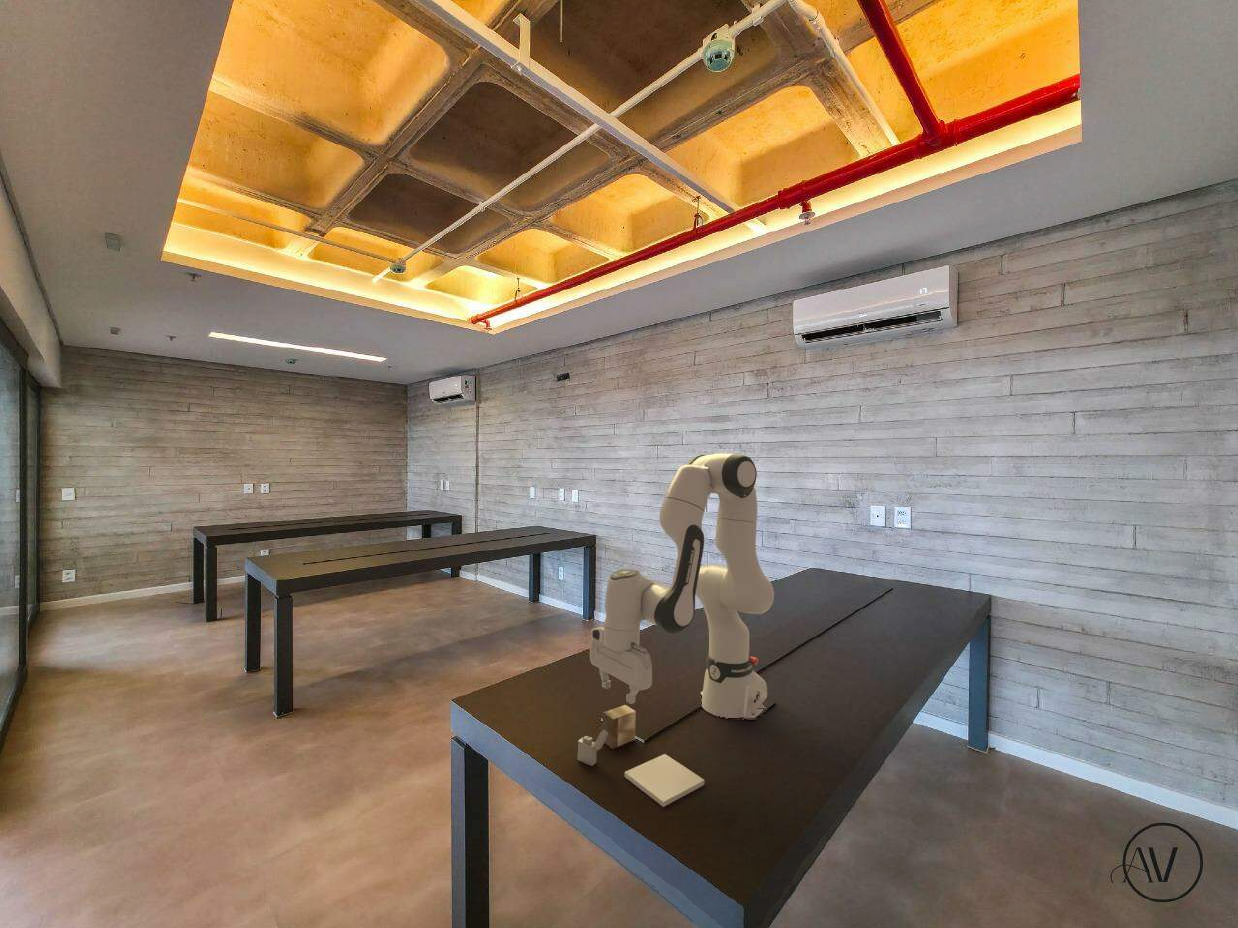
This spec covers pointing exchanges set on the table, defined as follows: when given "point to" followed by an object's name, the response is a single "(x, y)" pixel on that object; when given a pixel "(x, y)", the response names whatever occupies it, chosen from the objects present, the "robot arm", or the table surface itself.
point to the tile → (664, 779)
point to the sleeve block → (619, 726)
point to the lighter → (590, 748)
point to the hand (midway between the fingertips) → (618, 694)
